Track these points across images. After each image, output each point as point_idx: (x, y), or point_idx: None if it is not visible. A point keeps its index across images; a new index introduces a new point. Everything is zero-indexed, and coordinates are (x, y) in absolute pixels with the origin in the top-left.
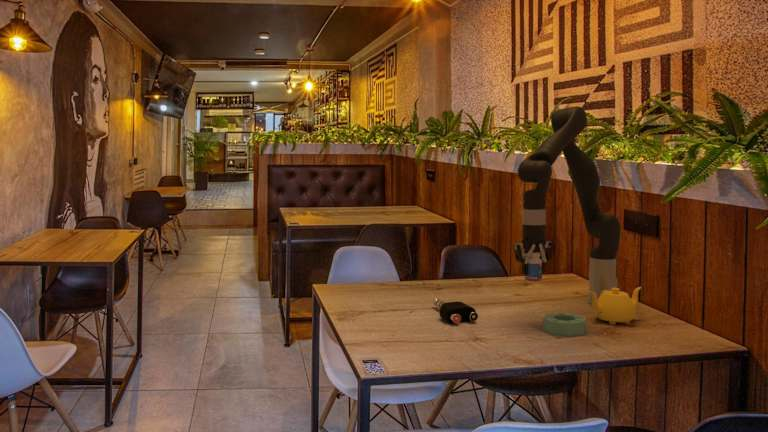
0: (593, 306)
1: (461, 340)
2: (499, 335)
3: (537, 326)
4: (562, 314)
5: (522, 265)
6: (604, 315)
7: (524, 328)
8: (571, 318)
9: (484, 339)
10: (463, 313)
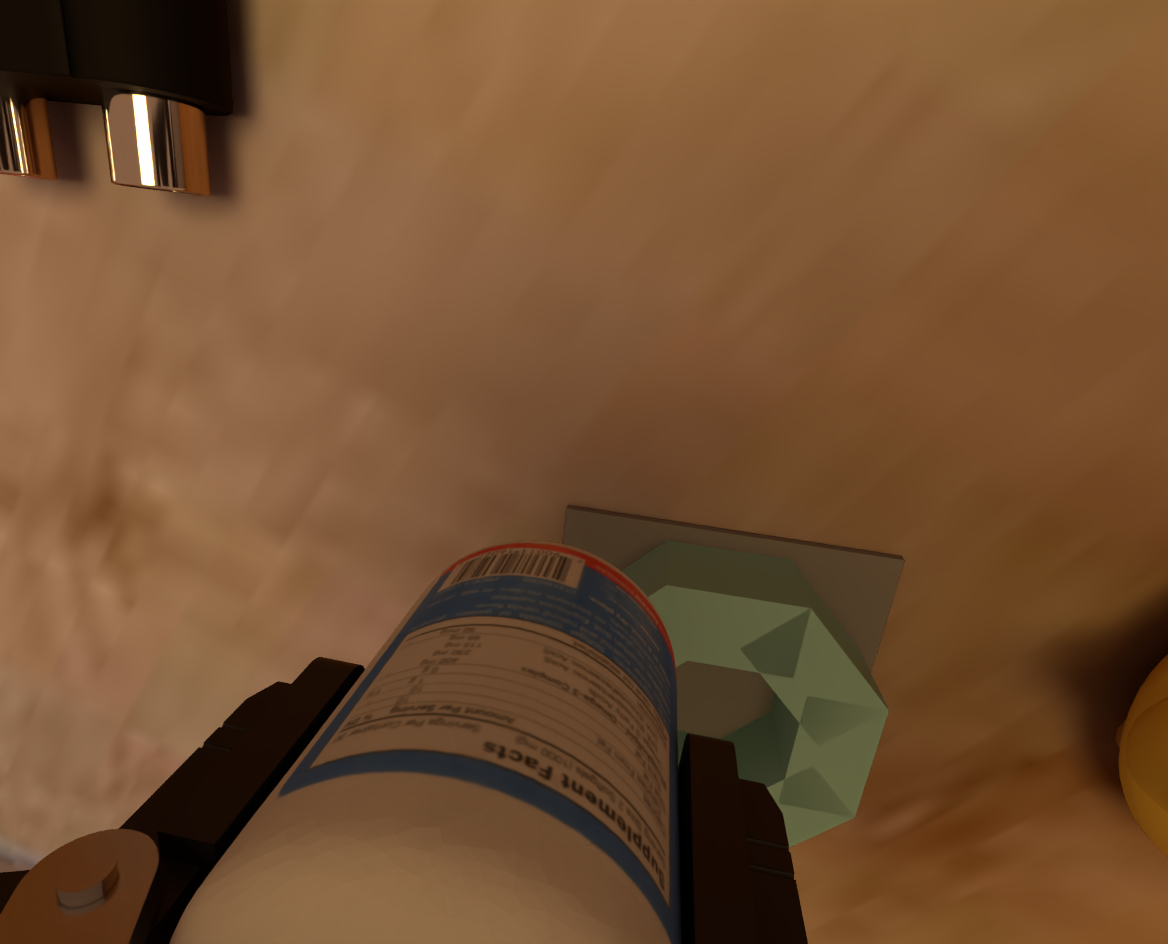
0: (1141, 754)
1: (4, 491)
2: (261, 526)
3: (596, 525)
4: (771, 667)
5: (155, 828)
6: (1125, 779)
7: (502, 487)
8: (793, 719)
9: (141, 543)
10: (76, 88)
